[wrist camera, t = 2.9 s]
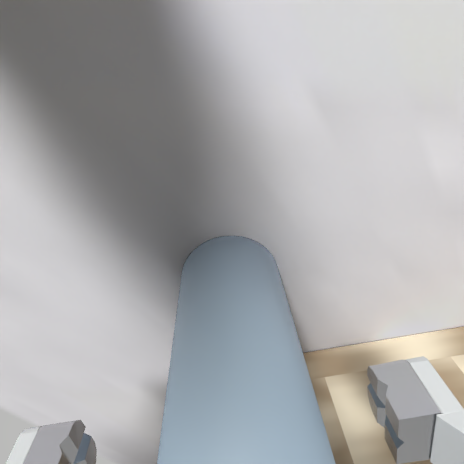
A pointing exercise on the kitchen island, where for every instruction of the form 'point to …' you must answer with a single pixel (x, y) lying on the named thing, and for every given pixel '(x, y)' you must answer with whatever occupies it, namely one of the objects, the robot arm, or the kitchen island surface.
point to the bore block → (356, 381)
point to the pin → (238, 366)
